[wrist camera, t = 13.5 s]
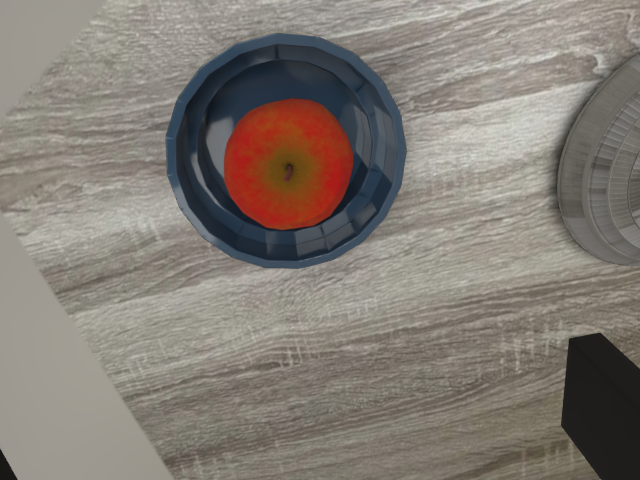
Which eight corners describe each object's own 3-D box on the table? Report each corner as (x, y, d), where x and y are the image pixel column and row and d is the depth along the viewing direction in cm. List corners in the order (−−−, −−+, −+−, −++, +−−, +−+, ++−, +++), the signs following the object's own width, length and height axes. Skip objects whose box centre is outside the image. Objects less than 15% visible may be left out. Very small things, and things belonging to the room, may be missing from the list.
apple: (295, 61, 28) (308, 77, 21) (356, 150, 30) (386, 190, 23) (206, 129, 28) (190, 166, 22) (272, 210, 31) (277, 266, 24)
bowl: (155, 196, 30) (137, 228, 26) (218, -8, 26) (210, -12, 22) (335, 256, 33) (348, 294, 29) (417, 82, 29) (446, 94, 25)
